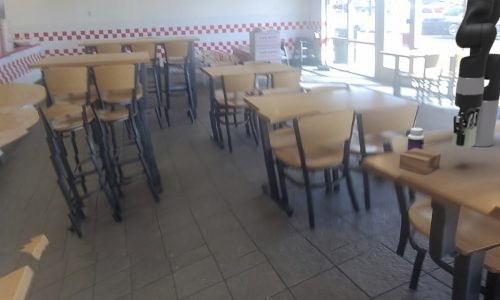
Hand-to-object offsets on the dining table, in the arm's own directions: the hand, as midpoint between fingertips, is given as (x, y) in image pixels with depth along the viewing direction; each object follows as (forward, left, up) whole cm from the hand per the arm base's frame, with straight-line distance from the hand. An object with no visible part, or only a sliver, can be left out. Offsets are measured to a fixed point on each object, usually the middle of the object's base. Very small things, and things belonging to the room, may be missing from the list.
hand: (463, 142), depth 131 cm
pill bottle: (-1, -16, -8) cm, 18 cm away
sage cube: (0, 0, -1) cm, 1 cm away
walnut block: (+9, -9, -8) cm, 16 cm away
